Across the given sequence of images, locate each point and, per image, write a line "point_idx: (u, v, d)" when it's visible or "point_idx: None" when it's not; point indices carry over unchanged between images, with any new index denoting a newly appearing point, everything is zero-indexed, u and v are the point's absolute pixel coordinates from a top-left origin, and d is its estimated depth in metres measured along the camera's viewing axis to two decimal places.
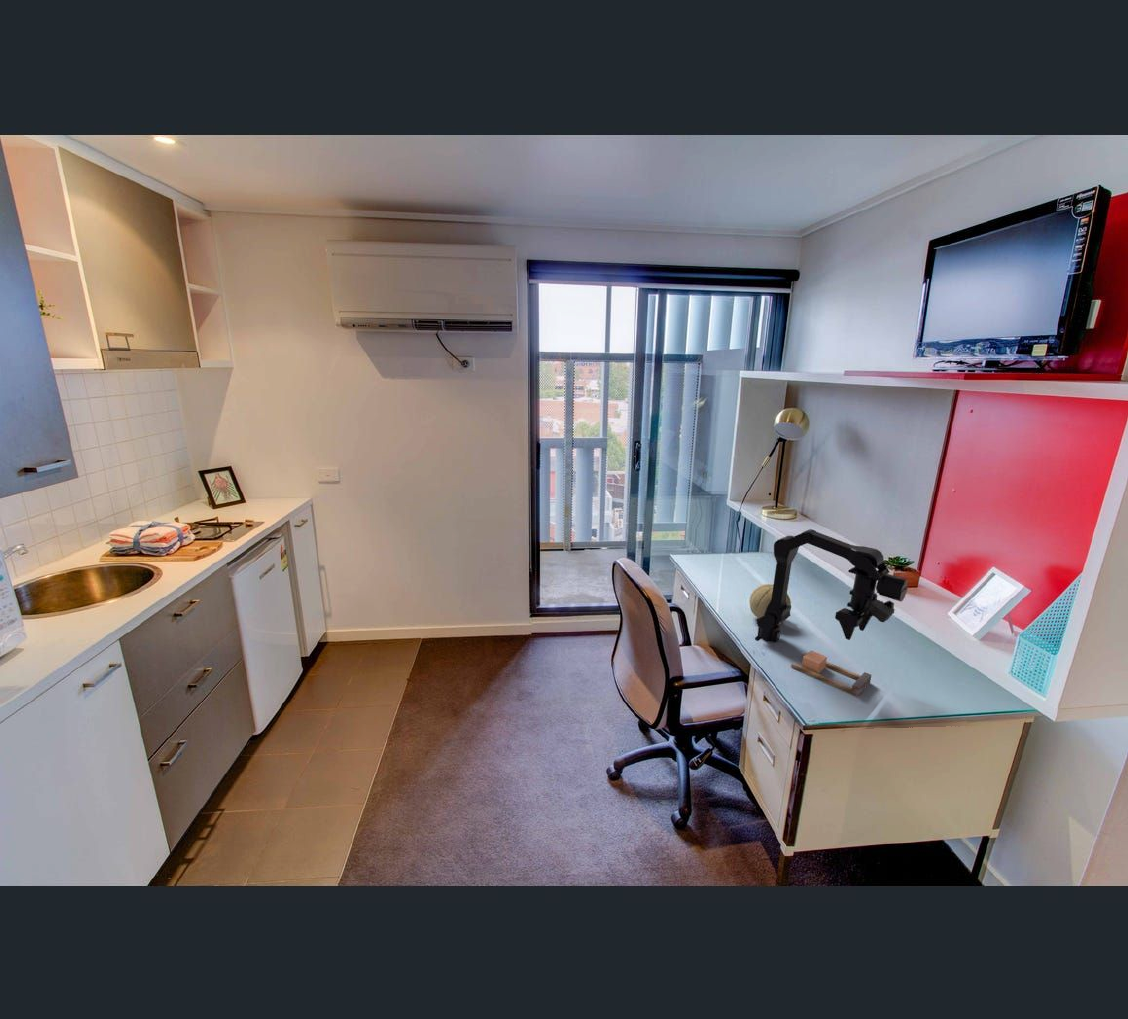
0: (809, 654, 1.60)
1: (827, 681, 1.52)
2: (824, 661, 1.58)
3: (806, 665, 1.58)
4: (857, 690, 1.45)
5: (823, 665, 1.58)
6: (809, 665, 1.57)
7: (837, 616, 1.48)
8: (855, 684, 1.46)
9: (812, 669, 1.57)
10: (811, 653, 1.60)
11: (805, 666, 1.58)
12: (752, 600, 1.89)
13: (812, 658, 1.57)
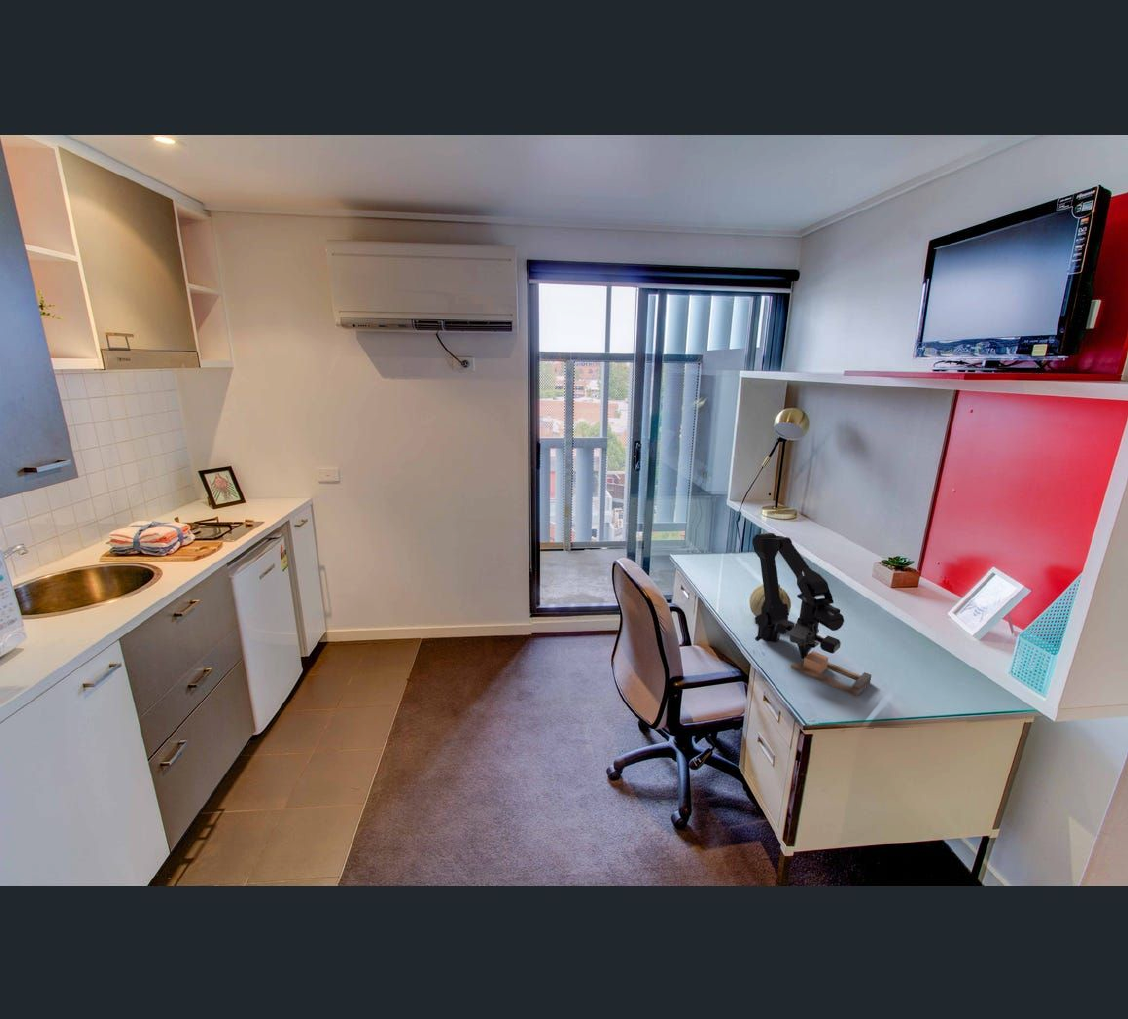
0: (811, 655, 1.59)
1: (827, 681, 1.52)
2: (826, 662, 1.57)
3: (807, 666, 1.58)
4: (857, 690, 1.45)
5: (825, 666, 1.58)
6: (811, 666, 1.57)
7: None
8: (855, 684, 1.46)
9: (814, 670, 1.56)
10: (812, 654, 1.60)
11: (806, 667, 1.58)
12: (752, 600, 1.89)
13: (814, 659, 1.57)
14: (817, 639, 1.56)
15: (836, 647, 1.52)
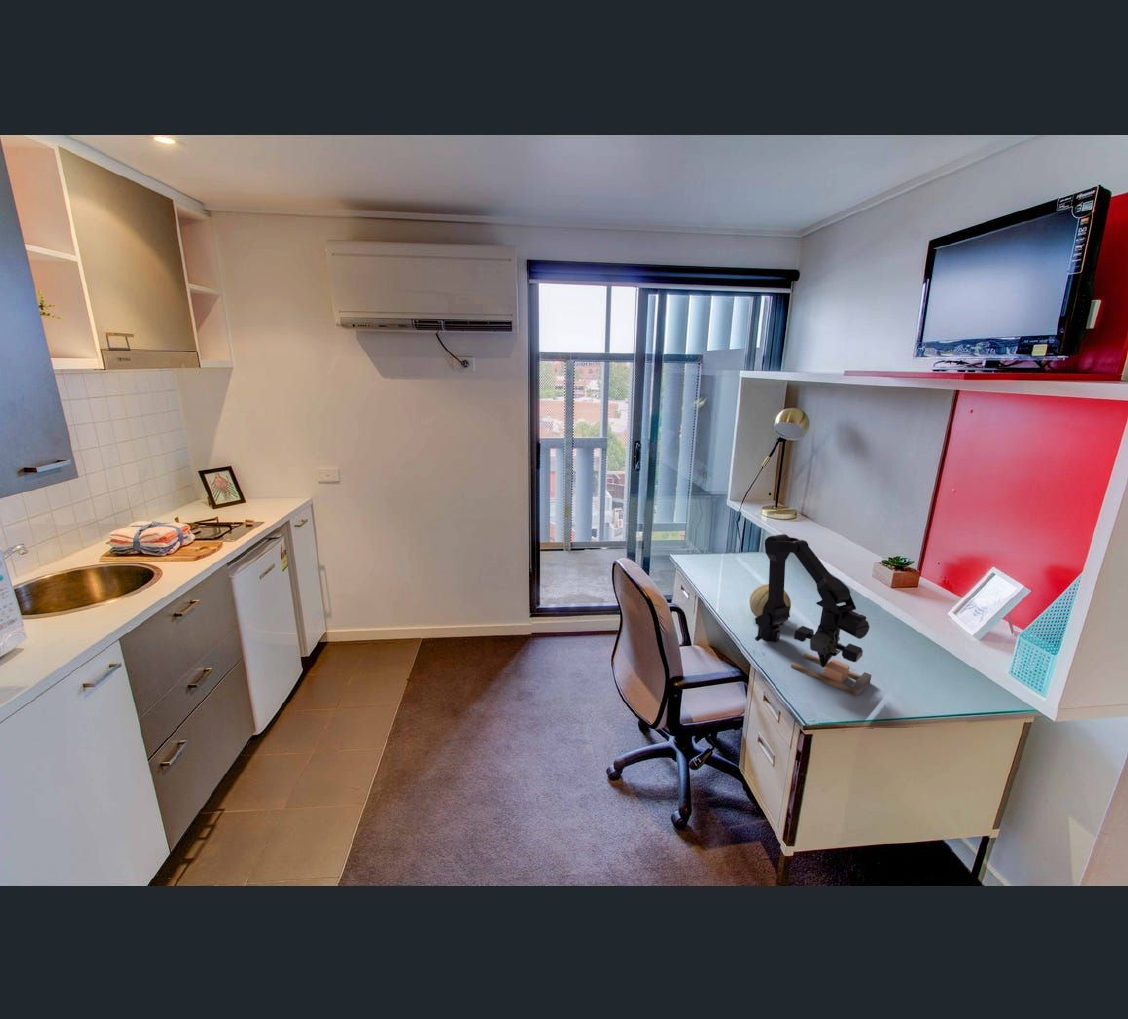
0: (831, 664, 1.55)
1: (827, 681, 1.52)
2: (847, 670, 1.53)
3: (828, 675, 1.53)
4: (857, 690, 1.45)
5: (846, 675, 1.53)
6: (831, 675, 1.52)
7: None
8: (855, 684, 1.46)
9: (834, 679, 1.52)
10: (833, 662, 1.55)
11: (827, 676, 1.53)
12: (752, 600, 1.89)
13: (835, 668, 1.52)
14: (838, 647, 1.52)
15: (858, 656, 1.47)
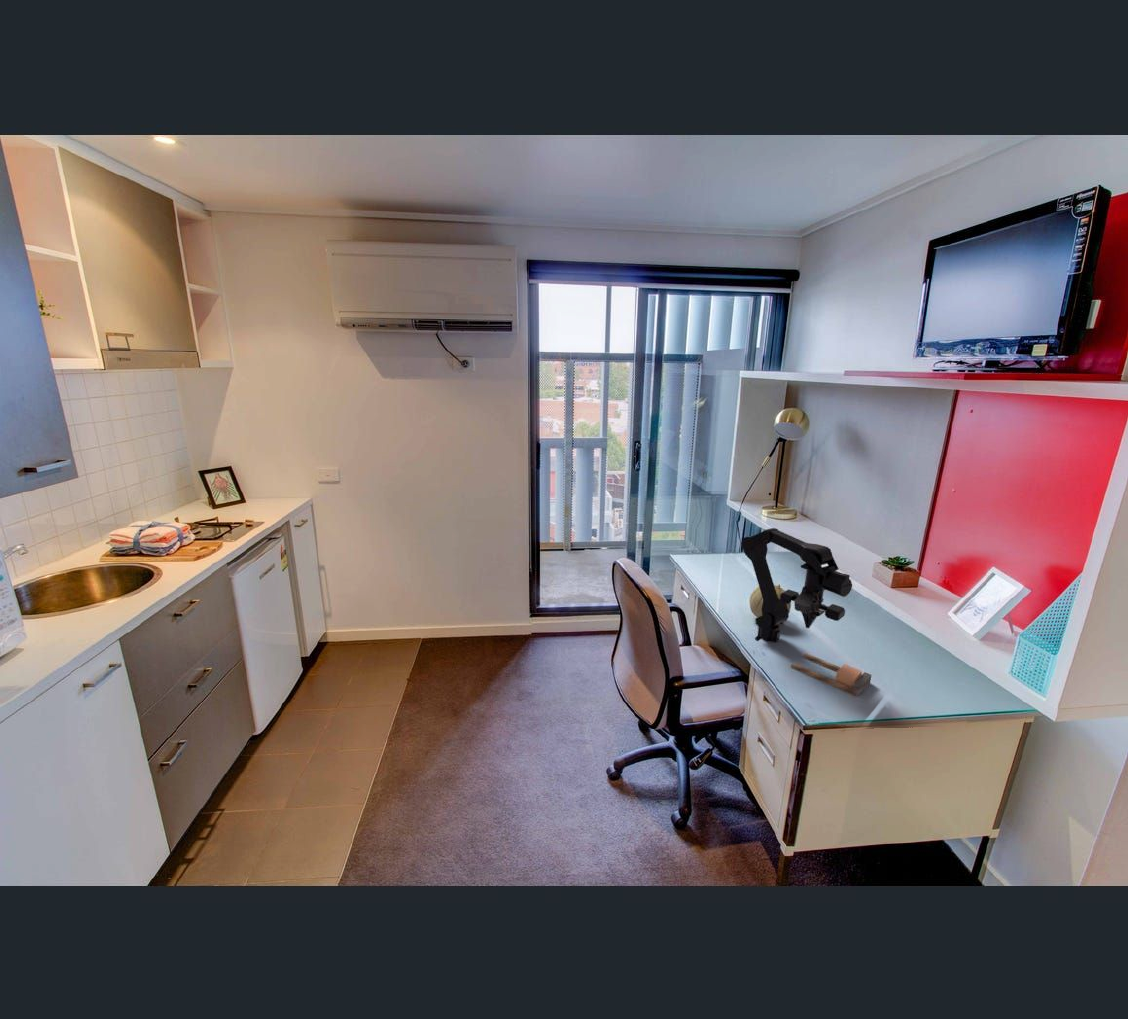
0: (843, 669, 1.52)
1: (827, 681, 1.52)
2: (859, 676, 1.50)
3: (840, 680, 1.51)
4: (857, 690, 1.45)
5: None
6: (844, 680, 1.50)
7: None
8: (855, 684, 1.46)
9: (847, 684, 1.49)
10: (845, 667, 1.53)
11: (839, 681, 1.51)
12: (752, 600, 1.89)
13: (847, 673, 1.50)
14: (822, 608, 1.57)
15: (841, 615, 1.53)
